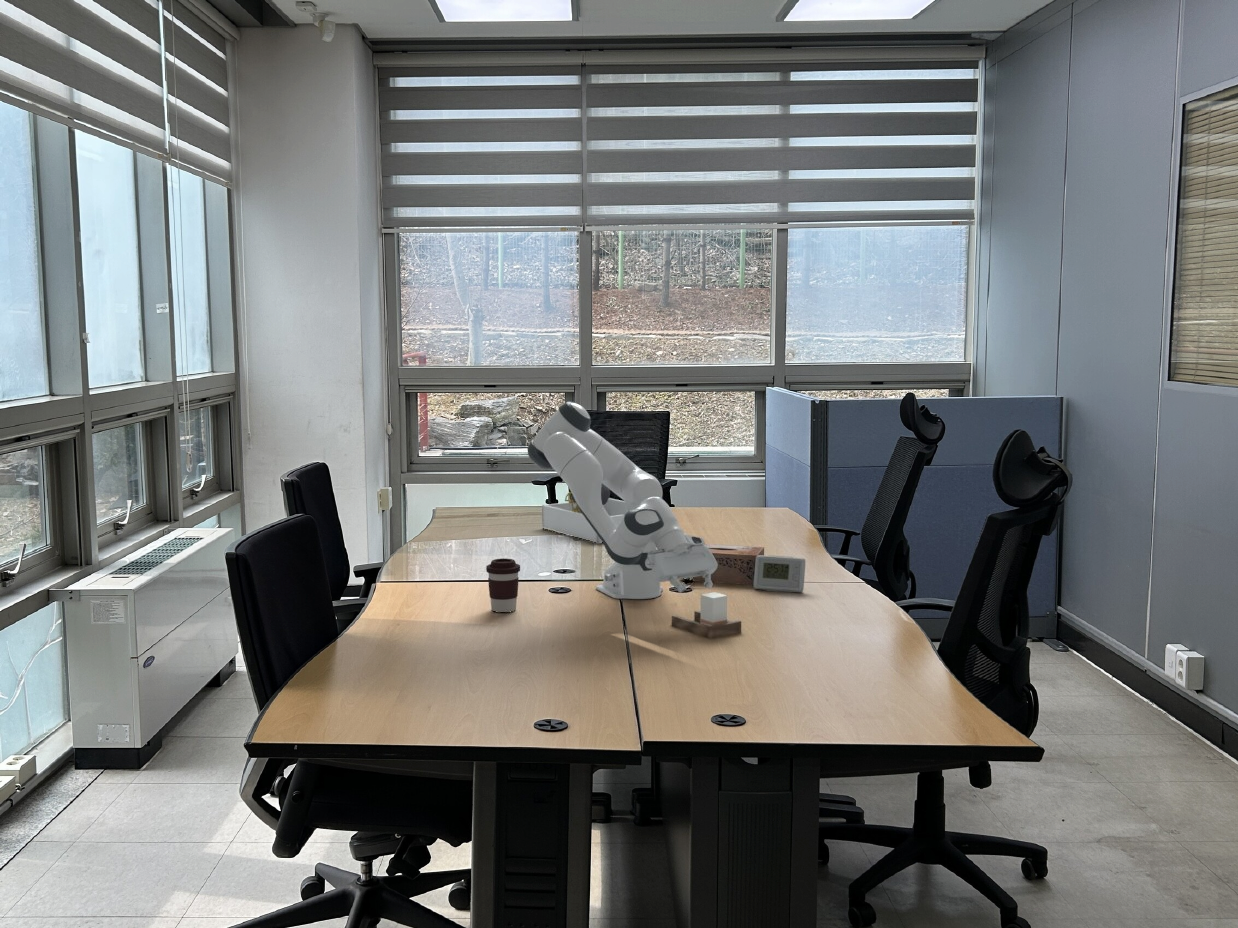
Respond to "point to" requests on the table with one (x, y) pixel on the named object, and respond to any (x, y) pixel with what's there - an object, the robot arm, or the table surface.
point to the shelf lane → (705, 630)
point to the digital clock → (779, 573)
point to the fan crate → (578, 519)
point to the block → (713, 609)
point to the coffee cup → (503, 584)
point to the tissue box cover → (733, 563)
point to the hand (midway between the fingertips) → (696, 588)
